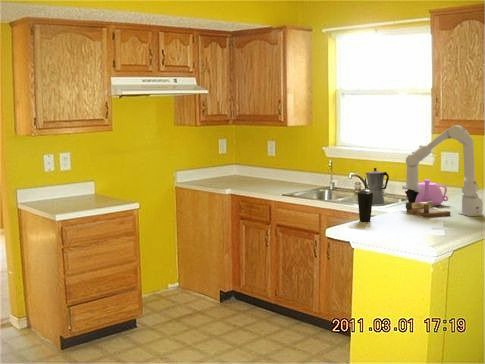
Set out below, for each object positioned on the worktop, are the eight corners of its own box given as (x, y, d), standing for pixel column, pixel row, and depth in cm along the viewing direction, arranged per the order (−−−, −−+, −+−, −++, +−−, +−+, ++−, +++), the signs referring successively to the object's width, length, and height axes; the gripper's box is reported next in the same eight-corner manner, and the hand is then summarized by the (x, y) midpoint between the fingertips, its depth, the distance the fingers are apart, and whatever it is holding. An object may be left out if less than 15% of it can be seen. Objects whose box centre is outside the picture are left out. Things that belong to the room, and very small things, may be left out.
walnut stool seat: (450, 215, 287) (450, 203, 286) (425, 217, 283) (425, 205, 282) (430, 210, 302) (430, 199, 301) (406, 212, 298) (406, 200, 297)
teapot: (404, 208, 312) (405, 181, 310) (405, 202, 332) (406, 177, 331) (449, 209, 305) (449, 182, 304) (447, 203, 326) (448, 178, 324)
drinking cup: (376, 220, 276) (377, 178, 273) (367, 223, 270) (368, 179, 268) (362, 219, 281) (362, 177, 279) (353, 221, 275) (353, 178, 273)
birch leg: (430, 206, 302) (430, 200, 302) (433, 207, 299) (433, 201, 299) (404, 208, 297) (404, 202, 297) (407, 209, 295) (407, 203, 294)
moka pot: (369, 201, 334) (370, 166, 332) (393, 204, 323) (394, 168, 321) (360, 203, 328) (360, 167, 325) (384, 206, 317) (384, 169, 314)
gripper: (397, 177, 307) (397, 203, 309) (413, 180, 293) (412, 207, 295) (409, 176, 309) (408, 202, 311) (425, 179, 296) (425, 206, 297)
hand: (411, 204), depth 303 cm, fingers closed
